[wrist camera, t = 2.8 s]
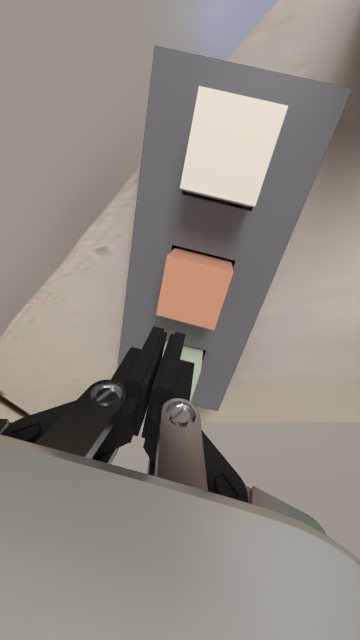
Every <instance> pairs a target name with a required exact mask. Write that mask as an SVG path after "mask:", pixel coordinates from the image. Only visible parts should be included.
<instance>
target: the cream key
mask: <svg viewBox="0 0 360 640" xmlns="http://www.w3.org/2000/svg"><path fill="white" fill-rule="evenodd" d="M287 109H288V105H283V104H279V103H274V102H270V101H265V100H261V99H256V98H252V97H247V96H243V95H238V94H234V93H229V92H225V91H220V90H216V89H211V88H207V87H202V86H199V88H198V93H197V99H196V104H195V109H194V115H193V120H192V125H191V131H190V136H189V141H188V147H187V152H186V157H185V163H184V168H183V173H182V179H181V184H180V189H182V190H184V191H186V192H188V193H193V194H197V195H201V196H205V197H209V198H213V199H217V200H221V201H225V202H230V203H234V204H238V205H242V206H246V207H254V206H256V203H257V200H258V197H259V194H260V191H261V187H262V184H263V181H264V178H265V175H266V172H267V169H268V166H269V163H270V160H271V157H272V154H273V151H274V148H275V145H276V142H277V139H278V136H279V133H280V130H281V127H282V124H283V121H284V118H285V115H286V112H287Z"/></svg>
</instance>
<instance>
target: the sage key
mask: <svg viewBox="0 0 360 640" xmlns="http://www.w3.org/2000/svg"><path fill="white" fill-rule="evenodd" d="M167 342H168V340H166V342H165V346H164V351H165V348H166V345H167ZM164 351H163V354H164ZM162 357H163V355H162ZM202 357H203V350H202V349H199V348H195V347H191V346H187V345H184V344H183V349H182V353H181V358H180V359H181V360H185V361H189V362H192V363H194V373H193V380H192V388H191V396H190V402H191V399H192V396H193V393H194V390H195V387H196V384H197V381H198V378H199V375H200V372H201V366H202Z"/></svg>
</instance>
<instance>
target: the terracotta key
mask: <svg viewBox="0 0 360 640" xmlns="http://www.w3.org/2000/svg"><path fill="white" fill-rule="evenodd" d="M232 275H233V267H232V263H231V260H229V259H225V258H221V257H217V256H213V255H209V254H205V253H201V252H198V251H194V250H190V249H186V248H182V247H178V246H177V247H176V248H175V249H173V250H172V251H171V252H170V253H169V254H168V255H167V259H166V264H165V269H164V275H163V280H162V285H161V291H160V296H159V301H158V307H157V312H156V315H158V316H162V317H166V318H170V319H174V320H177V321H181V322H185V323H189V324H192V325H196V326H200V327H204V328H207V329H211V330H215V327H216V324H217V321H218V318H219V315H220V312H221V309H222V306H223V303H224V300H225V297H226V293H227V290H228V287H229V284H230V281H231V278H232Z"/></svg>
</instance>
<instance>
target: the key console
mask: <svg viewBox="0 0 360 640" xmlns="http://www.w3.org/2000/svg"><path fill="white" fill-rule="evenodd" d="M199 86H202V87H207V88H211V89H216V90H220V91H225V92H229V93H234V94H238V95H243V96H247V97H252V98H256V99H261V100H265V101H270V102H274V103H279V104H283V105H288V109H287V112H286V115H285V118H284V121H283V124H282V127H281V130H280V133H279V136H278V139H277V142H276V145H275V148H274V151H273V154H272V157H271V160H270V163H269V166H268V169H267V172H266V175H265V178H264V181H263V184H262V187H261V191H260V194H259V197H258V200H257V203H256V206H254V207H246V206H242V205H238V204H234V203H230V202H225V201H221V200H217V199H213V198H209V197H205V196H201V195H197V194H193V193H188V192H186V191H184V190H182V189H180V184H181V179H182V173H183V168H184V163H185V157H186V152H187V147H188V141H189V136H190V131H191V125H192V120H193V115H194V109H195V104H196V99H197V93H198V88H199ZM351 91H352V88H347V87H343V86H338V85H333V84H329V83H324V82H320V81H315V80H311V79H306V78H301V77H297V76H292V75H288V74H283V73H278V72H274V71H269V70H265V69H260V68H255V67H251V66H246V65H242V64H237V63H232V62H228V61H223V60H218V59H214V58H210V57H205V56H200V55H196V54H191V53H187V52H182V51H177V50H173V49H168V48H164V47H159V46H154V55H153V64H152V72H151V82H150V90H149V98H148V107H147V116H146V125H145V133H144V142H143V151H142V159H141V168H140V177H139V185H138V194H137V203H136V212H135V220H134V229H133V238H132V246H131V255H130V264H129V273H128V281H127V290H126V299H125V307H124V316H123V325H122V334H121V342H120V351H119V360H118V367H119V365H120V364H121V362H122V360H123V359H124V357H125V356H126V354H127V352H128V351H129V349H130V348H131V347H135V348H139V349H142V347H143V345H144V343H145V342H146V340H147V338H148V336H149V334H150V332H151V330H152V328H153V326H156V327H159V328H163V329H164V332H167V337H166V340H168V339H169V337H170V334H175V332H179V333H183V334H186V336H185V340H184V345H187V346H191V347H195V348H199V349H202V350H203V357H202V366H201V372H200V375H199V378H198V381H197V384H196V387H195V390H194V393H193V396H192V399H191V403H192V404H194V405H197V406H201V407H205V408H208V409H212V410H215V411H218V410H219V407H220V405H221V402H222V400H223V398H224V395H225V393H226V390H227V388H228V386H229V383H230V381H231V379H232V376H233V374H234V371H235V369H236V367H237V364H238V362H239V359H240V357H241V355H242V352H243V350H244V347H245V345H246V343H247V340H248V338H249V335H250V333H251V331H252V328H253V326H254V323H255V321H256V319H257V316H258V314H259V311H260V309H261V307H262V304H263V302H264V299H265V297H266V295H267V292H268V290H269V287H270V285H271V283H272V280H273V278H274V275H275V273H276V271H277V268H278V266H279V263H280V261H281V259H282V256H283V254H284V251H285V249H286V247H287V244H288V242H289V239H290V237H291V235H292V232H293V230H294V227H295V225H296V223H297V220H298V218H299V215H300V213H301V211H302V208H303V206H304V203H305V201H306V199H307V196H308V194H309V191H310V189H311V187H312V184H313V182H314V179H315V177H316V175H317V172H318V170H319V167H320V165H321V163H322V160H323V158H324V155H325V153H326V151H327V148H328V146H329V143H330V141H331V139H332V136H333V134H334V131H335V129H336V127H337V124H338V122H339V119H340V117H341V115H342V112H343V110H344V107H345V105H346V103H347V100H348V98H349V96H350V93H351ZM177 246H178V247H182V248H186V249H190V250H194V251H198V252H201V253H205V254H209V255H213V256H217V257H221V258H225V259H229V260H231V263H232V267H233V275H232V278H231V281H230V284H229V287H228V290H227V293H226V297H225V300H224V303H223V306H222V309H221V312H220V315H219V318H218V321H217V324H216V327H215V330H211V329H207V328H204V327H200V326H196V325H192V324H189V323H185V322H181V321H177V320H174V319H170V318H166V317H162V316H158V315H156V312H157V307H158V301H159V296H160V291H161V285H162V280H163V275H164V269H165V264H166V259H167V255H168V254H169V253H170V252H171V251H172V250H173V249H175V248H176V247H177ZM117 369H118V368H117Z"/></svg>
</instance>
